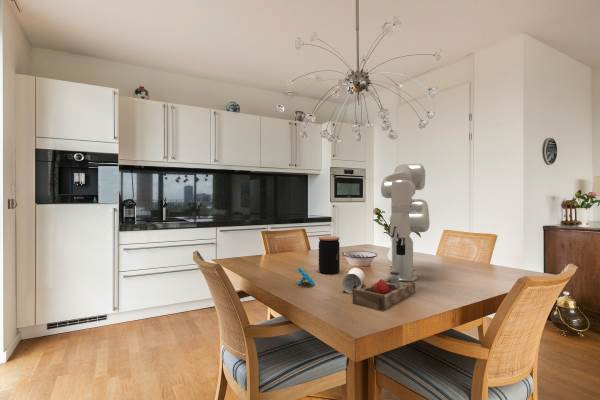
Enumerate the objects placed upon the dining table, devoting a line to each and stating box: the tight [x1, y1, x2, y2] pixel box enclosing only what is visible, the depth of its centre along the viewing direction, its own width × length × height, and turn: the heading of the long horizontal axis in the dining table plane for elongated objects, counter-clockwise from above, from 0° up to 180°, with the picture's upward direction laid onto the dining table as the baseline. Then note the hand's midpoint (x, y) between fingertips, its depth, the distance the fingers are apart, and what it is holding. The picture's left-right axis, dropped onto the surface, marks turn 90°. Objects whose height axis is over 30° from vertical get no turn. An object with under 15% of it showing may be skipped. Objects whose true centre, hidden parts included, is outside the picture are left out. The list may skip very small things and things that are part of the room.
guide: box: [352, 277, 416, 312], centre depth 125 cm, size 28×12×5 cm, turn 139°
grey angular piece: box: [385, 271, 406, 292], centre depth 130 cm, size 13×7×8 cm, turn 139°
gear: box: [297, 267, 315, 286], centre depth 144 cm, size 11×6×10 cm
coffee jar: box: [318, 235, 341, 276], centre depth 168 cm, size 11×11×18 cm
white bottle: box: [340, 267, 366, 294], centre depth 139 cm, size 8×19×8 cm, turn 162°
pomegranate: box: [373, 278, 389, 295], centre depth 122 cm, size 6×6×8 cm
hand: (400, 254), depth 134 cm, fingers closed
